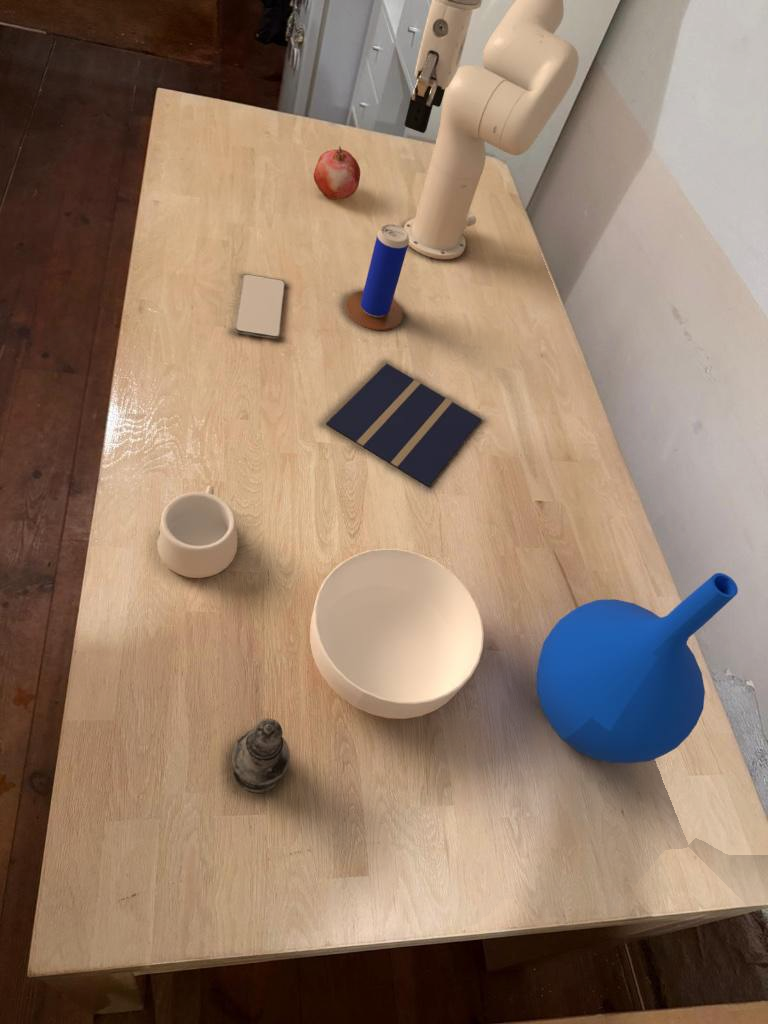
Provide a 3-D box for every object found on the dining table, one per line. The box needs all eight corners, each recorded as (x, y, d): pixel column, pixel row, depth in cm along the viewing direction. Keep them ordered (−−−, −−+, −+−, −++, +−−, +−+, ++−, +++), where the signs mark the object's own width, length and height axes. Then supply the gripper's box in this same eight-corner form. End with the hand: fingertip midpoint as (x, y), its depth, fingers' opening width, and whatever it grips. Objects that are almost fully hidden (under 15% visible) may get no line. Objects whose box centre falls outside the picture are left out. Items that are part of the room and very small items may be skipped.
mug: (228, 587, 91) (231, 561, 86) (147, 572, 89) (146, 545, 85) (247, 510, 98) (250, 482, 93) (173, 496, 97) (173, 466, 92)
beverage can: (393, 306, 130) (414, 231, 119) (383, 322, 127) (404, 246, 115) (365, 295, 130) (384, 219, 119) (355, 311, 127) (374, 234, 115)
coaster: (375, 286, 133) (375, 284, 133) (413, 318, 130) (414, 317, 130) (334, 303, 128) (334, 301, 127) (373, 337, 125) (373, 335, 124)
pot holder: (386, 364, 121) (386, 363, 121) (480, 420, 118) (481, 418, 118) (325, 424, 110) (326, 423, 110) (428, 487, 107) (428, 485, 107)
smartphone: (234, 330, 117) (243, 273, 126) (234, 333, 118) (243, 275, 127) (279, 337, 118) (285, 280, 127) (278, 340, 119) (284, 283, 128)
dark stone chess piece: (231, 739, 80) (238, 695, 70) (285, 739, 81) (300, 696, 72) (228, 796, 76) (236, 757, 67) (286, 795, 78) (301, 756, 68)
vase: (680, 766, 90) (857, 659, 67) (550, 801, 84) (695, 696, 60) (614, 631, 99) (747, 497, 76) (492, 653, 93) (598, 514, 70)
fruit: (335, 176, 152) (344, 127, 145) (365, 201, 149) (376, 153, 142) (300, 185, 148) (307, 135, 140) (331, 211, 144) (340, 162, 137)
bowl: (483, 630, 95) (506, 597, 88) (425, 764, 83) (447, 738, 76) (348, 559, 97) (361, 521, 90) (272, 680, 85) (280, 647, 78)
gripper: (471, 14, 91) (433, 149, 105) (495, -24, 102) (458, 102, 116) (413, -7, 91) (383, 130, 105) (444, -43, 102) (413, 85, 116)
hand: (422, 115), depth 110 cm, fingers open, 9 cm apart
